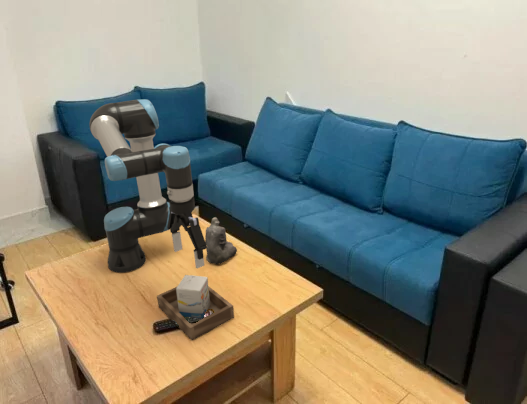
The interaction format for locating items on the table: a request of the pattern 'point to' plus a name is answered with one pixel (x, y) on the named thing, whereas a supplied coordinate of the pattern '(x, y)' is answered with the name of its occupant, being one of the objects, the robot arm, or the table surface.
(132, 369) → the table surface
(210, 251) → the figurine
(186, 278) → the ink box
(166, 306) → the tray
